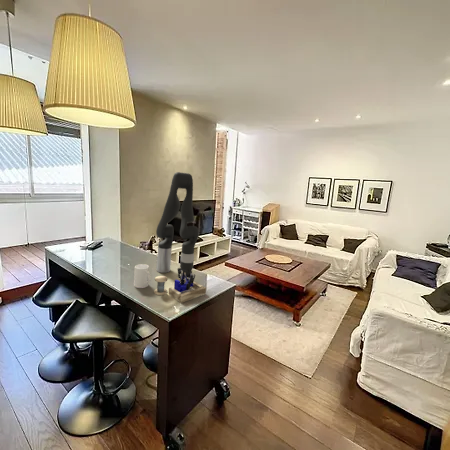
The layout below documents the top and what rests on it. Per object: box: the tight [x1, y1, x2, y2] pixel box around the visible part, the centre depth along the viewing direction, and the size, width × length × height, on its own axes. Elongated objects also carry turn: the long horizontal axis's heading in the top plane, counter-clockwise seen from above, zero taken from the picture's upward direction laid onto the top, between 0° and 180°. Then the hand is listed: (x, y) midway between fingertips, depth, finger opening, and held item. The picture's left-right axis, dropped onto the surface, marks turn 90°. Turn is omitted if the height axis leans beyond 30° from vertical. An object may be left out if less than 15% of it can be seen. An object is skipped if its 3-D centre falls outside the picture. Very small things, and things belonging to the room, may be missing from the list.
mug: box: [133, 263, 151, 289], centre depth 150 cm, size 12×8×12 cm
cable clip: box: [173, 277, 193, 292], centre depth 147 cm, size 12×4×6 cm, turn 141°
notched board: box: [168, 281, 207, 304], centre depth 146 cm, size 12×18×4 cm, turn 137°
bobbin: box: [153, 275, 168, 296], centre depth 144 cm, size 7×7×9 cm
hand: (185, 287), depth 147 cm, fingers closed on cable clip, 4 cm apart
